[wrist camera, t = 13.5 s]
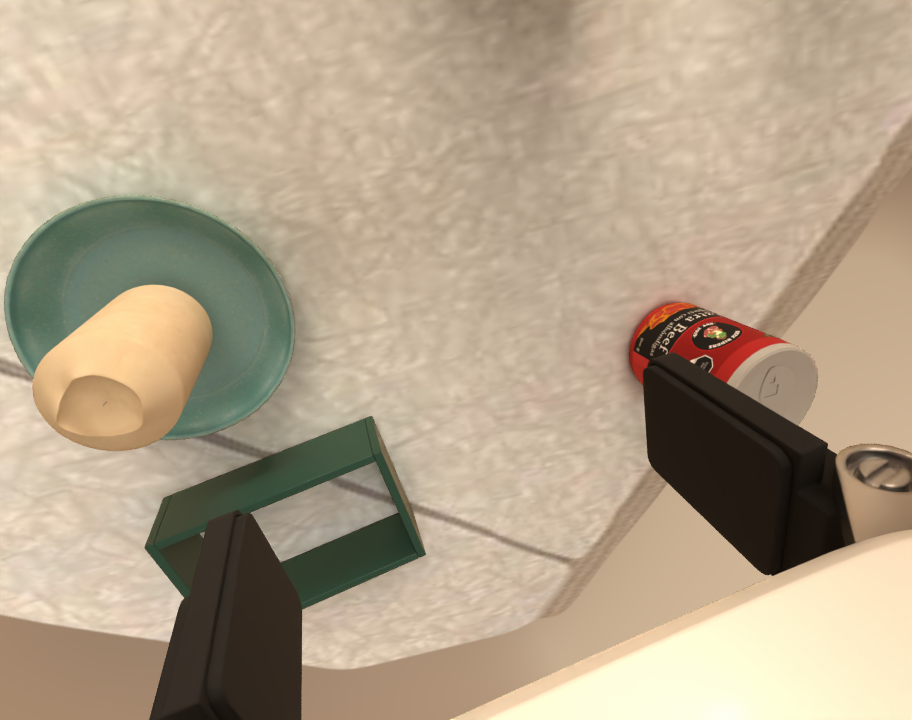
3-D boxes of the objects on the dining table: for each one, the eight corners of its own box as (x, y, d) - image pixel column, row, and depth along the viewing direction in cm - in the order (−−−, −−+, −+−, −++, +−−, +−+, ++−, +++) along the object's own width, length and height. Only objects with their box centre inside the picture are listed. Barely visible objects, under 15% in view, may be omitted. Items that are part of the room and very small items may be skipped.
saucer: (228, 155, 29) (222, 156, 26) (331, 370, 35) (333, 385, 33) (-39, 244, 27) (-71, 254, 24) (123, 453, 33) (109, 476, 31)
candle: (129, 383, 29) (55, 485, 20) (87, 294, 27) (-18, 367, 18) (227, 361, 30) (196, 449, 22) (194, 273, 28) (145, 332, 19)
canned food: (694, 283, 41) (816, 325, 31) (710, 359, 45) (823, 418, 35) (615, 327, 41) (714, 384, 31) (637, 401, 44) (732, 472, 35)
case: (163, 498, 35) (143, 547, 31) (371, 415, 38) (381, 451, 33) (230, 590, 40) (221, 645, 36) (413, 512, 42) (426, 555, 38)
